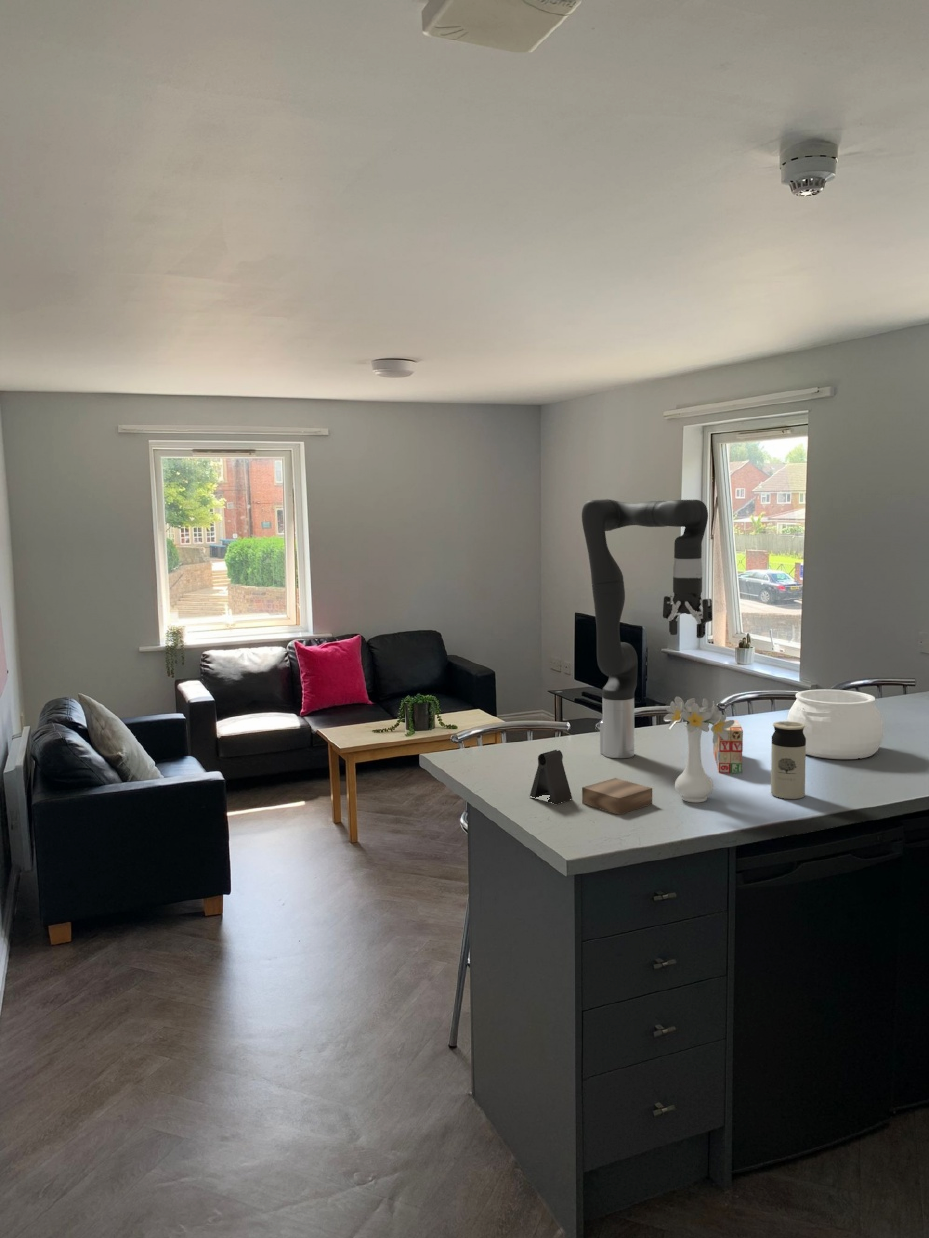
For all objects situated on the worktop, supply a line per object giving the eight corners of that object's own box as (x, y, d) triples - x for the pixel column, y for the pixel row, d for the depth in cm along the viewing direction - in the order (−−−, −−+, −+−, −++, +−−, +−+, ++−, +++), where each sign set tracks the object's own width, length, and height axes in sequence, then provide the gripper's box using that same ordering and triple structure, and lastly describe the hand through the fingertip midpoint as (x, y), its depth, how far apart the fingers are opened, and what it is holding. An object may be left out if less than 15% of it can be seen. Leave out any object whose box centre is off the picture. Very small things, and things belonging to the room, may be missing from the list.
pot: (854, 768, 248) (856, 709, 246) (767, 751, 268) (767, 697, 266) (900, 749, 267) (902, 694, 265) (815, 735, 287) (816, 684, 285)
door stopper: (529, 797, 229) (528, 751, 228) (545, 792, 233) (544, 746, 232) (556, 805, 223) (555, 757, 221) (572, 799, 227) (571, 752, 225)
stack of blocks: (712, 753, 268) (713, 712, 267) (734, 754, 267) (735, 712, 266) (718, 773, 247) (719, 729, 246) (742, 774, 246) (743, 729, 245)
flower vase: (714, 813, 213) (715, 709, 211) (650, 797, 227) (650, 698, 224) (744, 801, 222) (745, 700, 219) (681, 786, 236) (681, 691, 233)
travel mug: (777, 788, 232) (778, 719, 230) (809, 793, 227) (810, 723, 225) (766, 796, 226) (766, 725, 224) (798, 802, 221) (799, 729, 219)
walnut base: (582, 803, 224) (582, 787, 223) (615, 793, 231) (615, 777, 231) (619, 814, 214) (619, 798, 214) (652, 804, 222) (652, 788, 221)
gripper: (657, 575, 243) (656, 635, 245) (701, 577, 232) (700, 640, 234) (674, 573, 248) (673, 632, 250) (718, 575, 237) (717, 637, 239)
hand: (686, 636), depth 242 cm, fingers open, 8 cm apart
